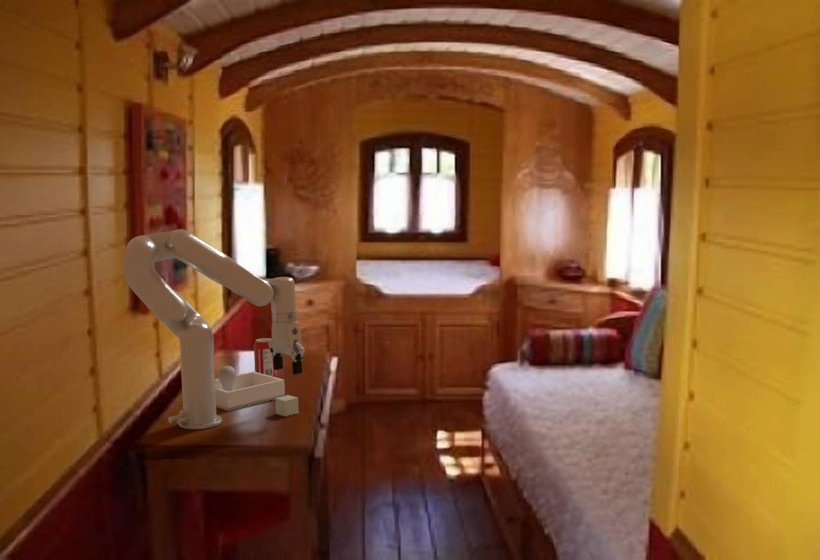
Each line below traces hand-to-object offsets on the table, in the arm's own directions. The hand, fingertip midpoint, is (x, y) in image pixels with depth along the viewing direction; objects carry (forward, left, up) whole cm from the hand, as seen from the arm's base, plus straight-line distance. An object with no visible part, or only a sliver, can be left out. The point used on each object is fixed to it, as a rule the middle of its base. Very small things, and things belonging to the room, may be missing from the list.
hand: (287, 371), depth 245 cm
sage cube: (-1, 0, -13) cm, 13 cm away
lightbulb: (-5, +26, -12) cm, 30 cm away
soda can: (+20, +41, -14) cm, 48 cm away
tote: (-1, +25, -13) cm, 29 cm away
